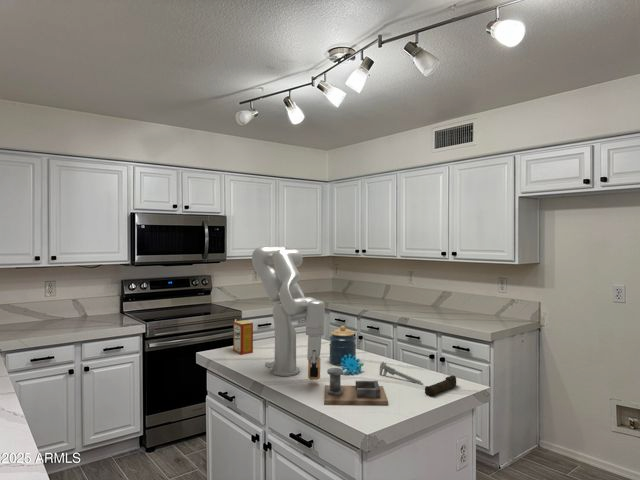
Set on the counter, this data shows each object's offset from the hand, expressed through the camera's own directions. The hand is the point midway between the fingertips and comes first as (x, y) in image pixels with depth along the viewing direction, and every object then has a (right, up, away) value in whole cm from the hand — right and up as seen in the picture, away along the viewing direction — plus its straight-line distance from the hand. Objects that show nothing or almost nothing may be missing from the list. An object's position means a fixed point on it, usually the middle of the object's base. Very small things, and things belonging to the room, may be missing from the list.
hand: (314, 374), depth 181 cm
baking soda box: (-38, -4, +50) cm, 63 cm away
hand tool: (+51, -5, -7) cm, 51 cm away
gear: (+17, -4, +16) cm, 23 cm away
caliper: (+37, -5, +6) cm, 38 cm away
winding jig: (+16, -4, -14) cm, 21 cm away
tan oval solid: (0, -2, 0) cm, 2 cm away
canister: (+13, -4, +32) cm, 35 cm away
